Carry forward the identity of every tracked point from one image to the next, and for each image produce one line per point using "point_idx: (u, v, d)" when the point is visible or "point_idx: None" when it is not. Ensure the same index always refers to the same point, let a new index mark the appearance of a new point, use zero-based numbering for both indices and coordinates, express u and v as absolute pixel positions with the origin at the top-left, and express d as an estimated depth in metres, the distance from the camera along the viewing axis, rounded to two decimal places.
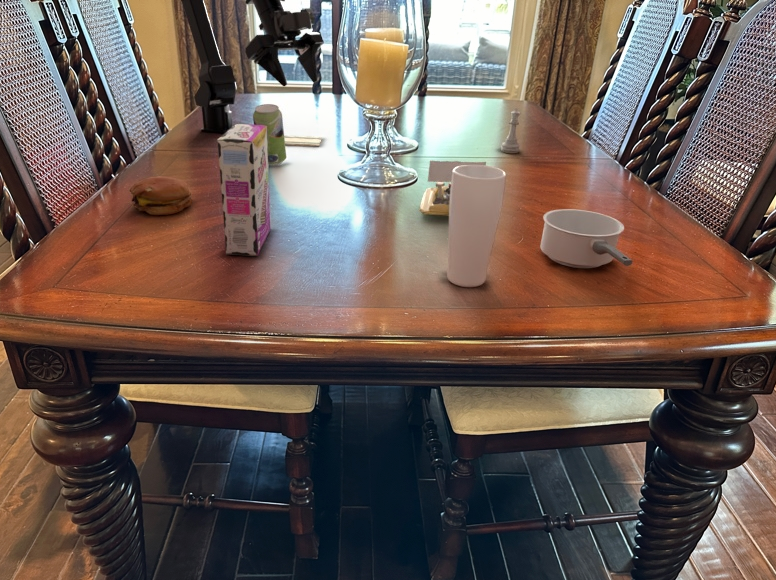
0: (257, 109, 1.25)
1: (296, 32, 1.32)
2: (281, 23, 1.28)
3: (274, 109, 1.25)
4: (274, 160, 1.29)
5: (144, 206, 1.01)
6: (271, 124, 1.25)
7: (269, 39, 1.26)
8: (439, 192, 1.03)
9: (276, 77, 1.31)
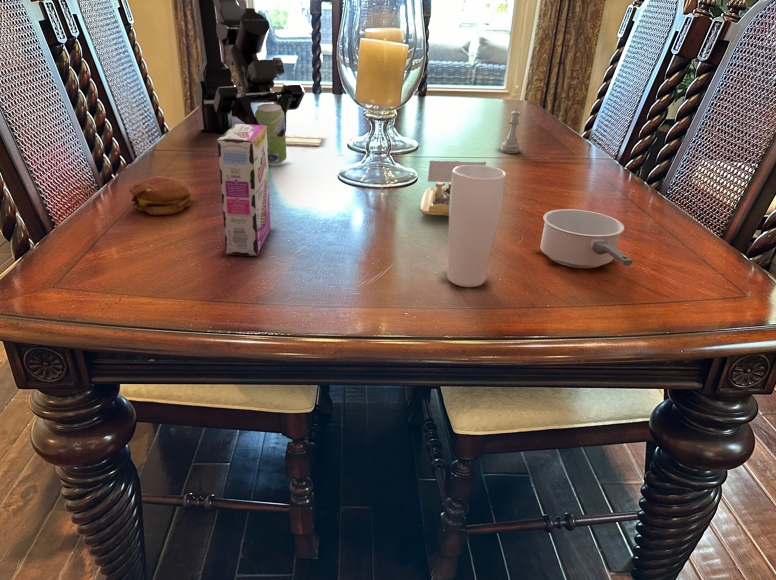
0: (260, 108, 1.25)
1: (268, 83, 1.27)
2: (247, 74, 1.24)
3: (276, 108, 1.25)
4: (274, 159, 1.29)
5: (144, 206, 1.01)
6: (273, 123, 1.25)
7: (231, 90, 1.23)
8: (439, 192, 1.03)
9: None
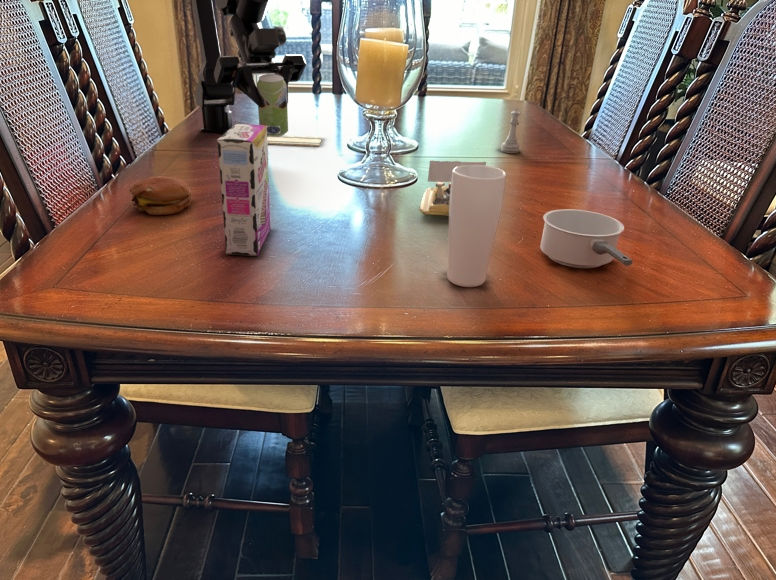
0: (261, 78, 1.23)
1: (270, 53, 1.25)
2: (248, 43, 1.22)
3: (279, 79, 1.23)
4: (276, 131, 1.27)
5: (144, 206, 1.01)
6: (275, 94, 1.22)
7: (232, 60, 1.21)
8: (439, 192, 1.03)
9: (252, 98, 1.25)
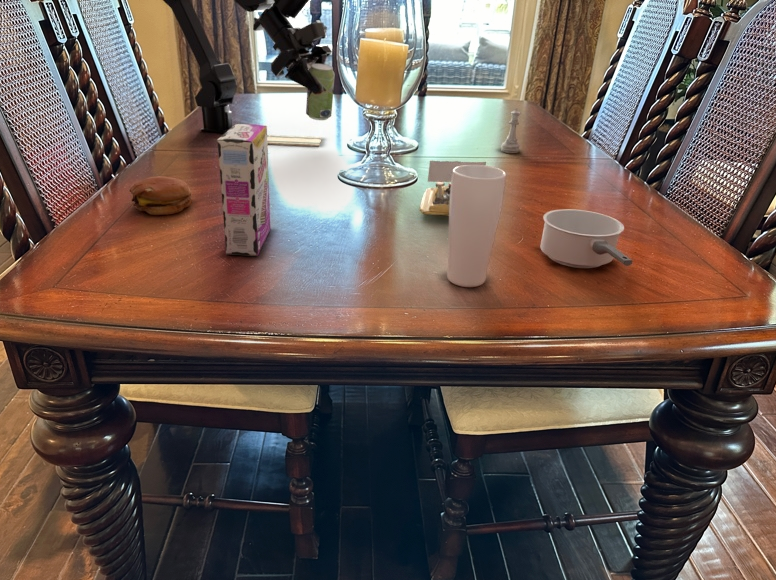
0: (317, 68, 1.37)
1: (310, 45, 1.39)
2: (299, 37, 1.35)
3: (329, 67, 1.39)
4: (328, 114, 1.43)
5: (144, 206, 1.01)
6: (331, 80, 1.38)
7: (294, 52, 1.32)
8: (439, 192, 1.03)
9: (308, 86, 1.38)
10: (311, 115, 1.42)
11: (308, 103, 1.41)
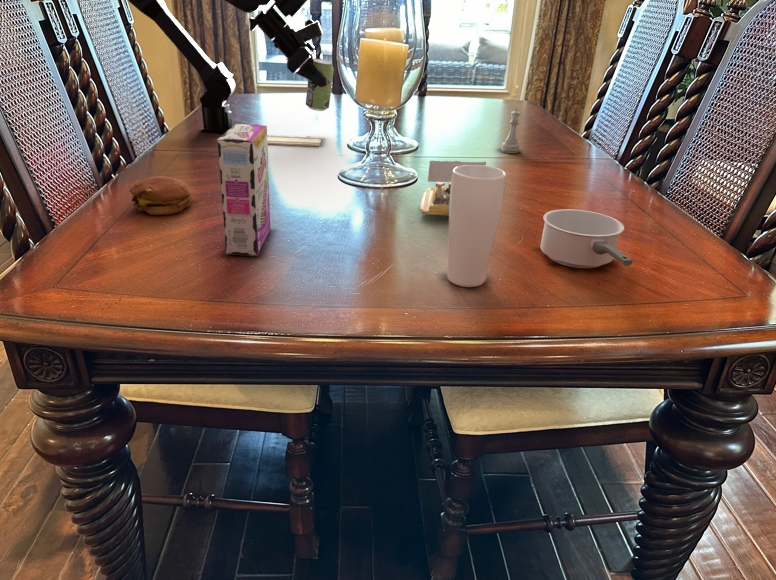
0: (321, 62, 1.49)
1: (305, 42, 1.50)
2: (303, 35, 1.45)
3: (327, 61, 1.52)
4: (328, 105, 1.56)
5: (144, 206, 1.01)
6: (332, 73, 1.52)
7: (308, 49, 1.43)
8: (439, 192, 1.03)
9: (315, 80, 1.50)
10: (315, 107, 1.54)
11: (312, 96, 1.53)
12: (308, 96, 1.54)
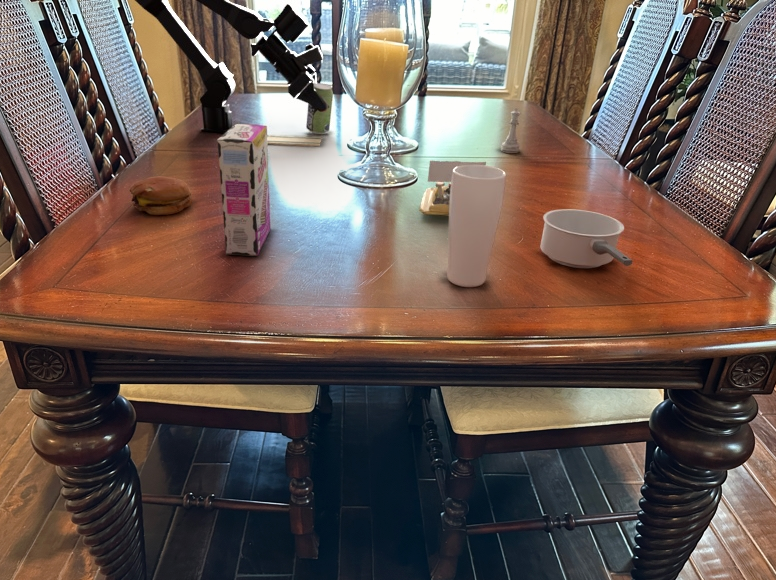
0: (320, 88, 1.52)
1: (306, 66, 1.53)
2: (304, 60, 1.48)
3: (326, 86, 1.54)
4: None
5: (144, 206, 1.01)
6: (332, 98, 1.55)
7: (308, 74, 1.46)
8: (439, 192, 1.03)
9: (316, 104, 1.51)
10: (316, 130, 1.57)
11: (312, 120, 1.56)
12: (308, 120, 1.57)
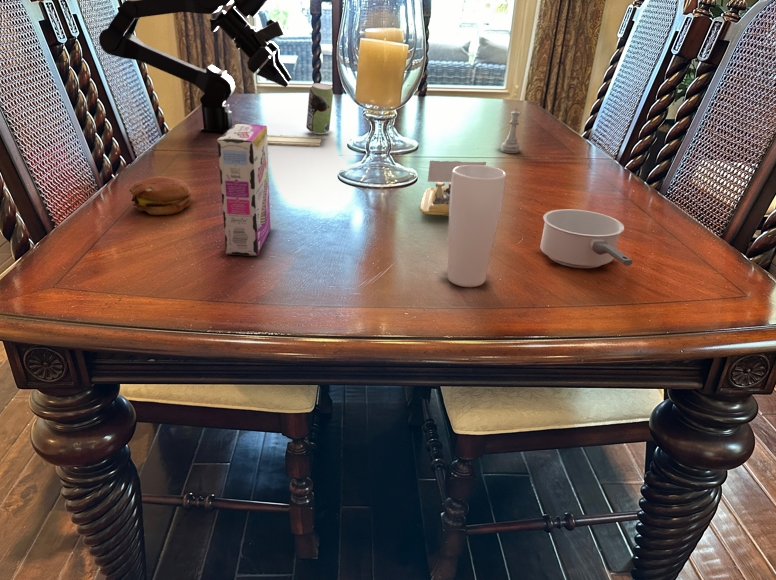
0: (320, 88, 1.52)
1: (268, 42, 1.50)
2: (264, 35, 1.45)
3: (326, 86, 1.54)
4: None
5: (144, 206, 1.01)
6: (332, 98, 1.55)
7: (268, 49, 1.43)
8: (439, 192, 1.03)
9: (277, 81, 1.48)
10: (316, 130, 1.57)
11: (312, 120, 1.56)
12: (308, 120, 1.57)
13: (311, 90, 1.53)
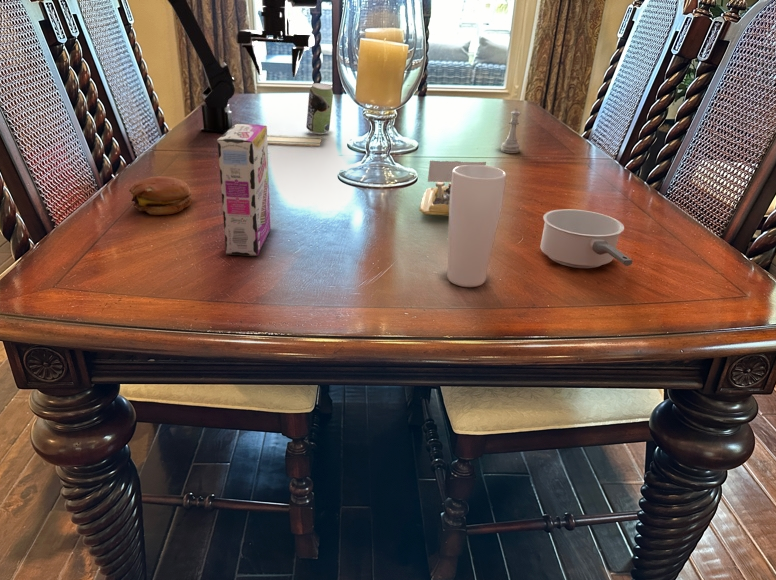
0: (320, 88, 1.52)
1: None
2: (290, 26, 1.54)
3: (326, 86, 1.54)
4: None
5: (144, 206, 1.01)
6: (332, 98, 1.55)
7: None
8: (439, 192, 1.03)
9: (296, 68, 1.54)
10: (316, 130, 1.57)
11: (312, 120, 1.56)
12: (308, 120, 1.57)
13: (311, 90, 1.53)
